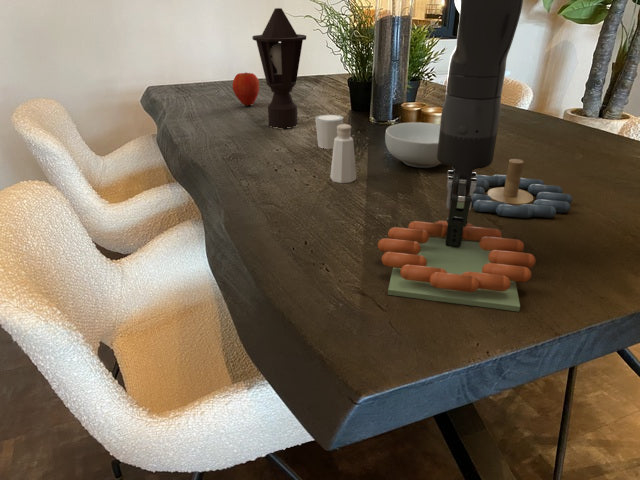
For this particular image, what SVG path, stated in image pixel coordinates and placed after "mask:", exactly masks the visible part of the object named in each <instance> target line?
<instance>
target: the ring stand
mask: <svg viewBox="0 0 640 480" xmlns="http://www.w3.org/2000/svg"><path fill="white" fill-rule="evenodd" d="M508 160H509V161H508V165H507V171H506V175H507V176H506V182H505V186H499V187H493V188H490V189H488V191H487V193H486V195H489V196H490V197H491V199H492V201H496V202H505V203H507V204H508V205H516V206H520V205H522V204H531V205H533V203H534V195H532V194H530V193H529V192H528V191H526V190H525V189H519V184H520V179H521V178H522V173H523V169H524V168H523V167H524V164H525V162H524V160H523V159H519V158H510V159H508Z"/></svg>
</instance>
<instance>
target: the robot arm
mask: <svg viewBox="0 0 640 480" xmlns="http://www.w3.org/2000/svg"><path fill="white" fill-rule="evenodd" d="M523 3H524V0H454V5H455V8H456V10H457V11H458V13H459V19H458V21H459V22H458V26H457V27H458V28H457V35H456V45H455V48H454V50H452V53H451V55H450V59H449V64H448V72H447V79H446V89H445V96H444V100H443V104H442V107H441V108H442V109H441V115H440V133H439V141H438V150H437V159H438V161H439V162H440V163H442V165H444V166H446V167H451V169H450V170H447V176H446V203H445V207H446V210H447V213H448V214H447V217H446V221H447V224H448V227H447V235H446V236H445V237H446V238H445V239H446V246H448V247H456V248H458V247H460V246H461V241H463V239H462V234H463V227H466V225H467V223H468V218H469V213H470V211H471V209H472V206H473V205H472V198H473V192H474V191H475V189H476V183H477V179H476V175H477V172H475V170H478V169H481V170H482V169H485V168H487V167H490V165H492V163H493V161H494V160H493V159H494V155H495V148H496V143H497V137H498V131H499V126H500V119H501V111H502V109H501V106H502V93H503V88H504V83H505V82H504V81H505V77H506V75H505V74H506V67H507V60H508V55H509V53H510V51H511V47H512V44H513V42H514V38H515V34H516V31H517V28H518V24H519V21H520V17H521V14H522V10H523ZM473 171H474V172H473Z"/></svg>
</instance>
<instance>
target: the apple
mask: <svg viewBox="0 0 640 480" xmlns="http://www.w3.org/2000/svg"><path fill="white" fill-rule="evenodd" d="M232 91H233V94H234V95H235V97H236V98H237V99H238V101H239V102H240V103H241V104H242V105H243V104H244V105H251V104H253V105H254V103H255V102H256V100H257V98H258V95H259V92H260V81H259V78H258V77H257V75H256V74H254V73H252V72H246V71H245V72H239V73H236V75H235V76H234V78H233V81H232ZM244 105H243V106H244Z"/></svg>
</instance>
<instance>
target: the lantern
mask: <svg viewBox="0 0 640 480" xmlns="http://www.w3.org/2000/svg"><path fill="white" fill-rule="evenodd" d="M251 38H252V40H253V41H255V42H256V46H257V49H258V54H259V58H260V62H261V65H262V70H263V74H264V79H265V82H266V86H268V87H269V88H270V91H271V93H273V95H272V99H271V102H270V103H269V105H268V106H267V115H268V117H267V119H268V126H269V125H270V126H272V127H278V128H287V127H293V126H296V125H297V124H298V125H299V122H298V120H299V119H298V105H297V104H296V103H295V102H294V100H293V96H292V94H291V92H293V88H294V87H295V86H296V85H297V80H298V74H299V66H300V61H301V55H302V48H303V42H304V41H307V35H305V34H300V33H299V34H298V33H297V32H296V31H295V28H294V27H293V25H292V24H291V21H290V20H289V18H288V16H287V15H286V13H285V12H284V10H283V8H282V7H275V8H274V9H273V11H272V14H271V15H270V17H269V20H268V21H267V23H266V26H265V27H264V30H263V31H262V34H256V35H253V36H252V37H251Z"/></svg>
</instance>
